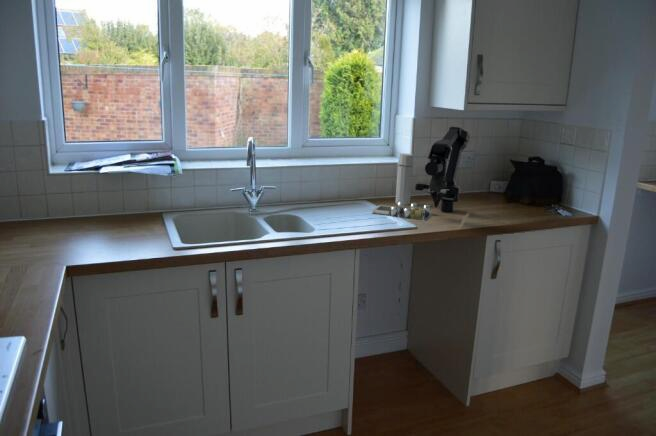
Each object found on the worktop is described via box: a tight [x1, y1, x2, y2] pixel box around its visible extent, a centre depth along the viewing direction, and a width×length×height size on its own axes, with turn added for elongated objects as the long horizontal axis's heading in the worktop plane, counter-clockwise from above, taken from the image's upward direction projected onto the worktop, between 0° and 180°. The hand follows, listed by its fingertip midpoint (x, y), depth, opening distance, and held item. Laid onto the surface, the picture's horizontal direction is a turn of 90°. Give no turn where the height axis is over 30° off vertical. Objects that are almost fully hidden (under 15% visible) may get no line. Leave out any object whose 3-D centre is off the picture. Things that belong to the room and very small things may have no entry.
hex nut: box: [410, 207, 424, 217], centre depth 235 cm, size 5×6×3 cm
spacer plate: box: [371, 202, 433, 222], centre depth 237 cm, size 13×25×5 cm, turn 68°
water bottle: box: [395, 153, 414, 206], centre depth 256 cm, size 9×8×25 cm
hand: (436, 207), depth 231 cm, fingers closed
